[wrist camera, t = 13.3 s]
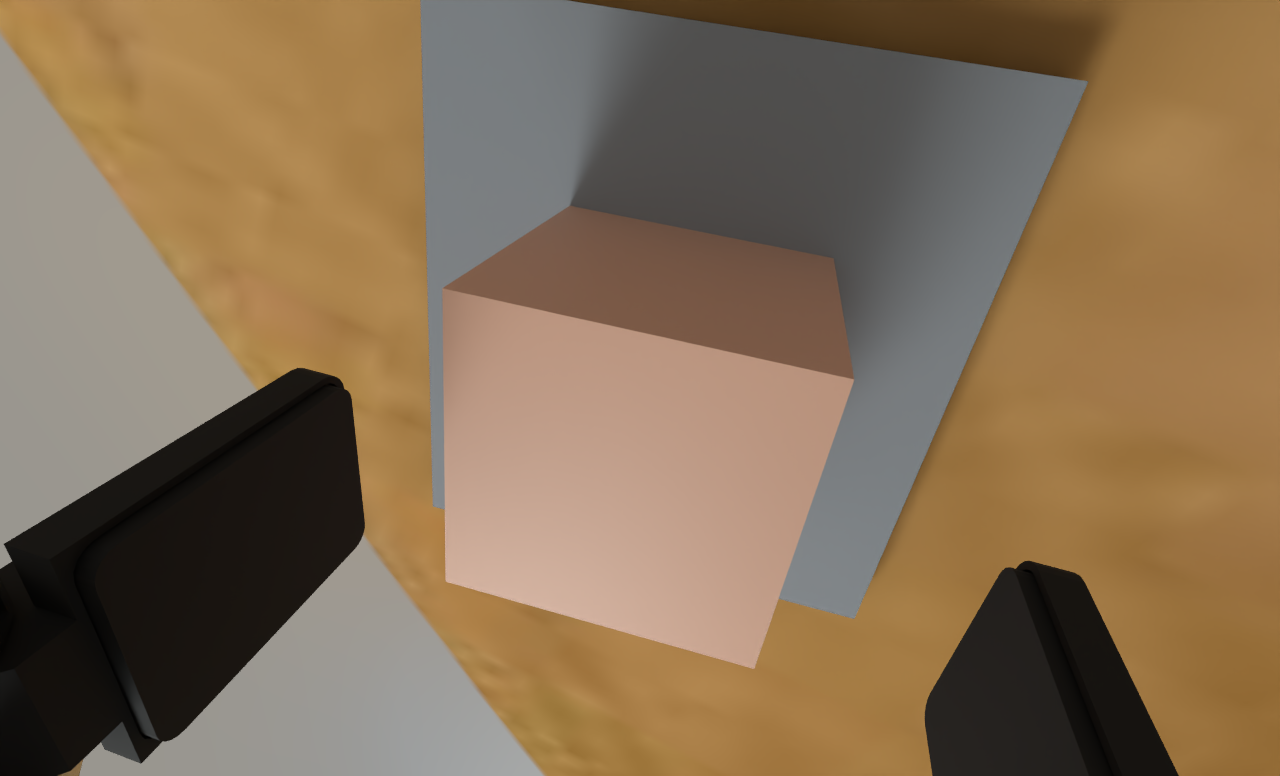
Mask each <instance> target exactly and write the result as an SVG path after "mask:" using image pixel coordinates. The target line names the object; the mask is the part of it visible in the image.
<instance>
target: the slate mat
mask: <svg viewBox="0 0 1280 776" xmlns="http://www.w3.org/2000/svg"><path fill="white" fill-rule="evenodd" d="M421 40H422V80H423V121H424V161H425V201H426V242H427V282H428V323H429V363H430V403H431V444H432V484H433V506H434V507H437V508H441V509H445V477H444V391H443V304H442V288H444V287H445V286H447V285H448V284H450V283H451V282H453V281H454V280H456V279H457V278H459V277H461V276H462V275H464V274H465V273H467V272H468V271H470V270H471V269H473V268H474V267H476V266H478V265H479V264H481V263H482V262H484V261H485V260H487V259H488V258H490V257H491V256H493V255H495V254H496V253H498V252H499V251H501V250H502V249H504V248H505V247H507V246H508V245H510V244H511V243H513V242H515V241H516V240H518V239H519V238H521V237H522V236H524V235H525V234H527V233H528V232H530V231H532V230H533V229H535V228H536V227H538V226H539V225H541V224H542V223H544V222H545V221H547V220H549V219H550V218H552V217H553V216H555V215H556V214H558V213H559V212H561V211H562V210H564V209H566V208H567V207H569V206H574V207H579V208H584V209H589V210H594V211H599V212H604V213H609V214H614V215H619V216H624V217H629V218H634V219H639V220H644V221H649V222H654V223H659V224H664V225H669V226H674V227H679V228H684V229H689V230H694V231H699V232H704V233H709V234H714V235H719V236H724V237H729V238H734V239H739V240H744V241H749V242H755V243H760V244H765V245H770V246H775V247H780V248H785V249H790V250H795V251H800V252H805V253H810V254H815V255H820V256H825V257H830V258H834V264H835V269H836V275H837V281H838V287H839V293H840V299H841V304H842V310H843V316H844V322H845V328H846V334H847V339H848V345H849V351H850V357H851V363H852V369H853V375H854V382H853V385H852V388H851V391H850V394H849V397H848V400H847V402H846V405H845V408H844V411H843V414H842V417H841V420H840V423H839V425H838V428H837V431H836V434H835V437H834V440H833V443H832V446H831V449H830V451H829V454H828V457H827V460H826V463H825V466H824V469H823V472H822V475H821V477H820V480H819V483H818V486H817V489H816V492H815V495H814V498H813V500H812V503H811V506H810V509H809V512H808V515H807V518H806V521H805V524H804V526H803V529H802V532H801V535H800V538H799V541H798V544H797V547H796V550H795V552H794V555H793V558H792V561H791V564H790V567H789V570H788V573H787V575H786V578H785V581H784V584H783V587H782V590H781V593H780V596H779V599H782V600H786V601H789V602H793V603H797V604H801V605H804V606H808V607H812V608H816V609H819V610H823V611H827V612H831V613H834V614H838V615H842V616H846V617H849V618H853V619H854V618H855V616H856V614H857V611H858V609H859V607H860V604H861V602H862V600H863V597H864V595H865V593H866V591H867V588H868V586H869V584H870V581H871V579H872V577H873V575H874V572H875V570H876V568H877V565H878V563H879V561H880V558H881V556H882V554H883V552H884V549H885V547H886V545H887V542H888V540H889V538H890V535H891V533H892V531H893V529H894V526H895V524H896V522H897V519H898V517H899V515H900V513H901V510H902V508H903V506H904V503H905V501H906V499H907V496H908V494H909V492H910V490H911V487H912V485H913V483H914V480H915V478H916V476H917V474H918V471H919V469H920V467H921V464H922V462H923V460H924V457H925V455H926V453H927V451H928V448H929V446H930V444H931V441H932V439H933V437H934V434H935V432H936V430H937V428H938V425H939V423H940V421H941V418H942V416H943V414H944V412H945V409H946V407H947V405H948V402H949V400H950V398H951V395H952V393H953V391H954V389H955V386H956V384H957V382H958V379H959V377H960V375H961V372H962V370H963V368H964V366H965V363H966V361H967V359H968V356H969V354H970V352H971V350H972V347H973V345H974V343H975V340H976V338H977V336H978V333H979V331H980V329H981V327H982V324H983V322H984V320H985V317H986V315H987V313H988V310H989V308H990V306H991V304H992V301H993V299H994V297H995V294H996V292H997V290H998V288H999V285H1000V283H1001V281H1002V278H1003V276H1004V274H1005V271H1006V269H1007V267H1008V265H1009V262H1010V260H1011V258H1012V255H1013V253H1014V251H1015V249H1016V246H1017V244H1018V242H1019V239H1020V237H1021V235H1022V232H1023V230H1024V228H1025V226H1026V223H1027V221H1028V219H1029V216H1030V214H1031V212H1032V209H1033V207H1034V205H1035V203H1036V200H1037V198H1038V196H1039V193H1040V191H1041V189H1042V187H1043V184H1044V182H1045V180H1046V177H1047V175H1048V173H1049V170H1050V168H1051V166H1052V164H1053V161H1054V159H1055V157H1056V154H1057V152H1058V150H1059V147H1060V145H1061V143H1062V141H1063V138H1064V136H1065V134H1066V131H1067V129H1068V127H1069V125H1070V122H1071V120H1072V118H1073V115H1074V113H1075V111H1076V108H1077V106H1078V104H1079V102H1080V99H1081V97H1082V95H1083V92H1084V90H1085V88H1086V86H1087V83H1088V81H1082V80H1076V79H1070V78H1063V77H1057V76H1050V75H1044V74H1037V73H1031V72H1025V71H1018V70H1012V69H1005V68H999V67H992V66H986V65H979V64H973V63H967V62H960V61H954V60H947V59H941V58H934V57H928V56H922V55H915V54H909V53H902V52H896V51H889V50H883V49H876V48H870V47H864V46H857V45H851V44H844V43H838V42H831V41H825V40H818V39H812V38H806V37H799V36H793V35H786V34H780V33H773V32H767V31H761V30H754V29H748V28H741V27H735V26H728V25H722V24H715V23H709V22H703V21H696V20H690V19H683V18H677V17H670V16H664V15H658V14H651V13H645V12H638V11H632V10H625V9H619V8H612V7H606V6H600V5H593V4H587V3H580V2H574V1H567V0H421Z"/></svg>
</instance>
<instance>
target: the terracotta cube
mask: <svg viewBox="0 0 1280 776" xmlns="http://www.w3.org/2000/svg"><path fill="white" fill-rule="evenodd" d="M442 304H443V391H444V477H445V563H446V582H449V583H453V584H456V585H460V586H463V587H467V588H470V589H474V590H477V591H481V592H485V593H488V594H492V595H495V596H499V597H502V598H506V599H509V600H513V601H516V602H520V603H523V604H527V605H530V606H534V607H537V608H541V609H545V610H548V611H552V612H555V613H559V614H562V615H566V616H569V617H573V618H576V619H580V620H583V621H587V622H590V623H594V624H597V625H601V626H605V627H608V628H612V629H615V630H619V631H622V632H626V633H629V634H633V635H636V636H640V637H643V638H647V639H650V640H654V641H658V642H661V643H665V644H668V645H672V646H675V647H679V648H682V649H686V650H689V651H693V652H696V653H700V654H703V655H707V656H710V657H714V658H718V659H721V660H725V661H728V662H732V663H735V664H739V665H742V666H746V667H749V668H753V669H754V668H755V665H756V662H757V659H758V656H759V653H760V650H761V648H762V645H763V642H764V639H765V636H766V633H767V630H768V627H769V625H770V622H771V619H772V616H773V613H774V610H775V607H776V604H777V601H778V599H779V596H780V593H781V590H782V587H783V584H784V581H785V578H786V575H787V573H788V570H789V567H790V564H791V561H792V558H793V555H794V552H795V550H796V547H797V544H798V541H799V538H800V535H801V532H802V529H803V526H804V524H805V521H806V518H807V515H808V512H809V509H810V506H811V503H812V500H813V498H814V495H815V492H816V489H817V486H818V483H819V480H820V477H821V475H822V472H823V469H824V466H825V463H826V460H827V457H828V454H829V451H830V449H831V446H832V443H833V440H834V437H835V434H836V431H837V428H838V425H839V423H840V420H841V417H842V414H843V411H844V408H845V405H846V402H847V400H848V397H849V394H850V391H851V388H852V385H853V382H854V375H853V369H852V363H851V357H850V351H849V345H848V339H847V334H846V328H845V322H844V316H843V310H842V304H841V299H840V293H839V287H838V281H837V275H836V269H835V264H834V258H830V257H825V256H820V255H815V254H810V253H805V252H800V251H795V250H790V249H785V248H780V247H775V246H770V245H765V244H760V243H755V242H749V241H744V240H739V239H734V238H729V237H724V236H719V235H714V234H709V233H704V232H699V231H694V230H689V229H684V228H679V227H674V226H669V225H664V224H659V223H654V222H649V221H644V220H639V219H634V218H629V217H624V216H619V215H614V214H609V213H604V212H599V211H594V210H589V209H584V208H579V207H574V206H569V207H567V208H566V209H564V210H562V211H561V212H559V213H558V214H556V215H555V216H553V217H552V218H550V219H549V220H547V221H545V222H544V223H542V224H541V225H539V226H538V227H536V228H535V229H533V230H532V231H530V232H528V233H527V234H525V235H524V236H522V237H521V238H519V239H518V240H516V241H515V242H513V243H511V244H510V245H508V246H507V247H505V248H504V249H502V250H501V251H499V252H498V253H496V254H495V255H493V256H491V257H490V258H488V259H487V260H485V261H484V262H482V263H481V264H479V265H478V266H476V267H474V268H473V269H471V270H470V271H468V272H467V273H465V274H464V275H462V276H461V277H459V278H457V279H456V280H454V281H453V282H451V283H450V284H448V285H447V286H445V287H444V288H442Z"/></svg>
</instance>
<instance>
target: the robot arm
mask: <svg viewBox="0 0 1280 776" xmlns="http://www.w3.org/2000/svg"><path fill="white" fill-rule="evenodd" d="M364 528H365V521H364V511H363V502H362V492H361V483H360V474H359V464H358V455H357V445H356V436H355V427H354V417H353V408H352V399H351V395H350V393H349V392H348V391H347V390H345V389H344V386H343V383H342V382H341V380H340V379H338V378H337V377H335V376H331V375H327V374H324V373H320V372H316V371H312V370H308V369H305V368H297V369H294V370H292V371H290V372H288V373H286V374H285V375H283V376H281V377H280V378H278V379H277V380H275V381H273V382H272V383H270V384H268V385H267V386H265V387H263V388H262V389H260V390H258V391H257V392H255V393H253V394H252V395H250V396H248V397H247V398H245V399H243V400H242V401H240V402H238V403H237V404H235V405H233V406H232V407H230V408H228V409H227V410H225V411H224V412H222V413H220V414H219V415H217V416H215V417H214V418H212V419H210V420H209V421H207V422H205V423H204V424H202V425H200V426H199V427H197V428H195V429H194V430H192V431H190V432H189V433H187V434H186V435H184V436H182V437H180V438H179V439H177V440H175V441H174V442H172V443H171V444H169V445H167V446H166V447H164V448H162V449H161V450H159V451H157V452H156V453H154V454H152V455H151V456H149V457H147V458H146V459H144V460H142V461H141V462H139V463H137V464H136V465H134V466H132V467H131V468H129V469H128V470H126V471H124V472H122V473H121V474H120V475H118V476H116V477H114V478H113V479H111V480H109V481H108V482H106V483H104V484H103V485H101V486H99V487H98V488H96V489H94V490H93V491H91V492H89V493H88V494H86V495H85V496H83V497H81V498H80V499H78V500H76V501H75V502H73V503H71V504H69V505H68V506H66V507H64V508H63V509H61V510H60V511H58V512H56V513H55V514H53V515H51V516H50V517H48V518H46V519H45V520H43V521H41V522H40V523H38V524H36V525H35V526H33V527H31V528H30V529H28V530H26V531H25V532H23V533H21V534H20V535H18V536H16V537H15V538H13V539H11V540H10V541H8V542H7V543H5V544H4V545H5V547H6V549H7V551H8V553H9V555H10V557H11V559H12V562H11V563H9V564H8V565H6V566H4V567H3V568H1V569H0V776H79V774H80V770H81V766H82V762H83V759H84V758H85V757H86V756H87V755H88V754H89V753H90V752H91V751H92V750H93V749H94V748H95V747H96V746H97V745H98V744H99V743H100V742H101V743H102V745H103V747H104V749H105V750H108V751H110V752H113V753H116V754H118V755H121V756H123V757H126V758H128V759H131V760H134V761H136V762H139V763H142V762H143V761H144V760H145V759H146V758H147V757H148V756H149V755H150V754H151V753H152V752H153V751H154V750H155V749H156V748H157V747H158V746H159V744H160V743H161V742H162V741H169V740H172V739H173V738H175V737H177V736H178V735H179V734H180V733H181V732H183V731H184V730H185V729H186V728H187V727H188V726H189V725H190V724H191V723H192V721H193V720H194V719H195V718H196V717H197V716H198V715H199V714H200V713H201V712H202V711H203V710H204V709H205V708H206V707H207V706H208V705H209V703H210V702H211V701H212V700H213V699H214V698H215V697H216V696H217V695H218V694H219V693H220V692H221V691H222V690H223V689H224V688H225V686H226V685H227V684H228V683H229V682H230V681H231V680H232V679H233V678H234V677H235V676H236V675H237V674H238V673H239V671H240V670H241V669H242V668H243V667H244V666H245V665H246V664H247V663H248V662H249V661H250V660H251V659H252V658H253V657H254V656H255V655H256V653H257V652H258V651H259V650H260V649H261V648H262V647H263V646H264V645H265V644H266V643H267V642H268V641H269V640H270V638H271V637H272V636H273V635H274V634H275V633H276V632H277V631H278V630H279V629H280V628H281V627H282V625H284V624H285V623H286V622H287V620H288V619H289V618H290V617H291V616H292V615H293V614H294V613H295V612H296V611H297V610H298V609H299V608H300V606H302V604H303V603H304V602H305V601H306V600H307V599H308V598H309V597H310V596H311V595H312V594H313V593H314V592H315V591H316V590H317V588H318V587H319V586H320V585H321V584H322V583H323V582H324V581H325V580H326V579H327V578H328V576H330V575H331V574H332V573H333V571H334V570H335V569H336V568H337V567H338V566H339V565H340V564H341V563H342V562H343V561H344V560H345V559H346V558H347V557H348V556H349V554H350V553H351V552H352V551H353V550H354V549H355V548H356V547H357V545H358V544H359V542H360V540H361V538H362V536H363V533H364ZM925 727H926V734H927V741H928V747H929V754H930V761H931V768H932V775H933V776H1179V775H1178V773H1177V771H1176V769H1175V767H1174V765H1173V763H1172V761H1171V759H1170V757H1169V755H1168V753H1167V751H1166V749H1165V747H1164V744H1163V742H1162V740H1161V738H1160V736H1159V734H1158V732H1157V730H1156V728H1155V726H1154V724H1153V722H1152V720H1151V718H1150V716H1149V714H1148V712H1147V709H1146V707H1145V705H1144V703H1143V701H1142V699H1141V697H1140V695H1139V693H1138V691H1137V689H1136V687H1135V685H1134V683H1133V681H1132V679H1131V677H1130V675H1129V672H1128V670H1127V668H1126V666H1125V664H1124V662H1123V660H1122V658H1121V656H1120V654H1119V652H1118V650H1117V648H1116V646H1115V644H1114V642H1113V640H1112V638H1111V635H1110V633H1109V631H1108V629H1107V627H1106V625H1105V623H1104V621H1103V619H1102V617H1101V615H1100V613H1099V611H1098V609H1097V607H1096V605H1095V603H1094V600H1093V598H1092V596H1091V594H1090V592H1089V590H1088V588H1087V586H1086V584H1085V582H1084V581H1083V579H1082V578H1081V576H1079V575H1077V574H1076V573H1073V572H1070V571H1066V570H1062V569H1058V568H1055V567H1051V566H1047V565H1043V564H1039V563H1036V562H1032V561H1024V562H1023V563H1021V564H1020V565H1019V566H1018V567H1017V568H1016V569H1014V568H1005V569H1004V570H1002V572H1001V573H1000V574H999V576H998V578H997V580H996V581H995V583H994V585H993V586H992V588H991V590H990V592H989V593H988V595H987V597H986V598H985V600H984V602H983V604H982V605H981V607H980V609H979V610H978V612H977V614H976V616H975V617H974V619H973V621H972V623H971V624H970V626H969V628H968V629H967V631H966V633H965V635H964V636H963V638H962V640H961V641H960V643H959V645H958V647H957V648H956V650H955V652H954V653H953V655H952V657H951V659H950V660H949V662H948V664H947V666H946V667H945V669H944V671H943V672H942V674H941V676H940V678H939V679H938V681H937V683H936V684H935V686H934V688H933V690H932V691H931V693H930V695H929V697H928V700H927V704H926V709H925Z"/></svg>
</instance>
